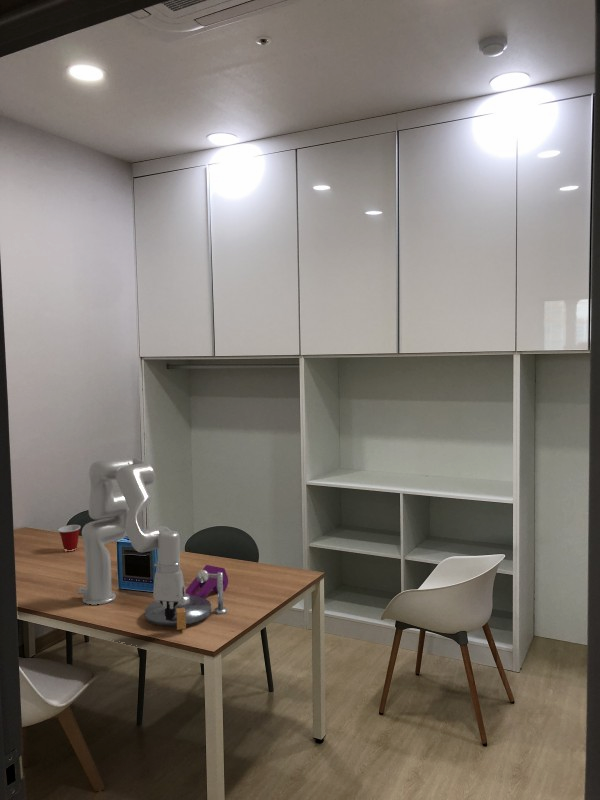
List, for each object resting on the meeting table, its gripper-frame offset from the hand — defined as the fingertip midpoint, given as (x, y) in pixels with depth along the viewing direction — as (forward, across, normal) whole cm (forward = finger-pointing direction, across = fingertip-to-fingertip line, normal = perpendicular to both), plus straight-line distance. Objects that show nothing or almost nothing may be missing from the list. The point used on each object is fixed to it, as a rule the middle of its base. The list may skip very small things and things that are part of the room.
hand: (169, 618), depth 224 cm
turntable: (+3, -2, +12) cm, 12 cm away
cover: (+1, -2, +14) cm, 14 cm away
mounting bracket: (+5, -1, +37) cm, 37 cm away
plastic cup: (+7, -90, +84) cm, 123 cm away
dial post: (+5, +9, +20) cm, 23 cm away
